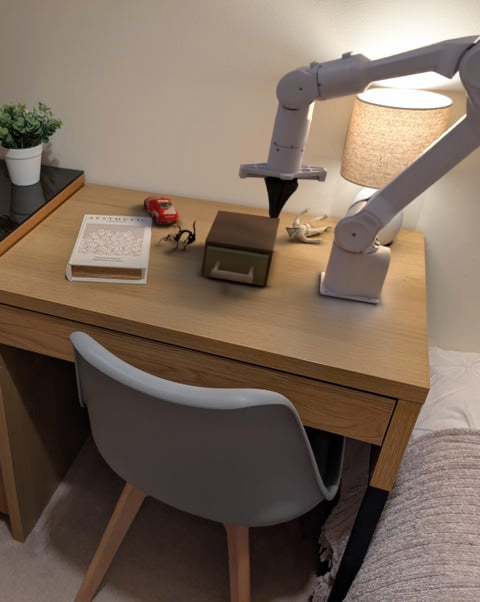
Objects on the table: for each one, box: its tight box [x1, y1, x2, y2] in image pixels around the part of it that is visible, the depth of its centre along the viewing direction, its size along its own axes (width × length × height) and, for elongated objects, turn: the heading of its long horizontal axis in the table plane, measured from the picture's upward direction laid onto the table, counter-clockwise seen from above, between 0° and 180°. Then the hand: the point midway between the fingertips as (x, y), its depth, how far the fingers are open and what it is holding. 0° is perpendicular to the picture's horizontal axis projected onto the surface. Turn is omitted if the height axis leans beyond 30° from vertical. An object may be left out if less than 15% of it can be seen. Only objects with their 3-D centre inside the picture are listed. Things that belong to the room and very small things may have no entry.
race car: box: [143, 195, 179, 226], centre depth 129 cm, size 13×5×4 cm, turn 9°
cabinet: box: [200, 209, 281, 287], centre depth 108 cm, size 14×12×7 cm
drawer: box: [203, 245, 269, 286], centre depth 105 cm, size 18×11×6 cm, turn 159°
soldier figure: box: [285, 207, 333, 244], centre depth 118 cm, size 8×5×12 cm
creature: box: [158, 220, 197, 254], centre depth 115 cm, size 8×5×8 cm
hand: (273, 215), depth 104 cm, fingers closed
